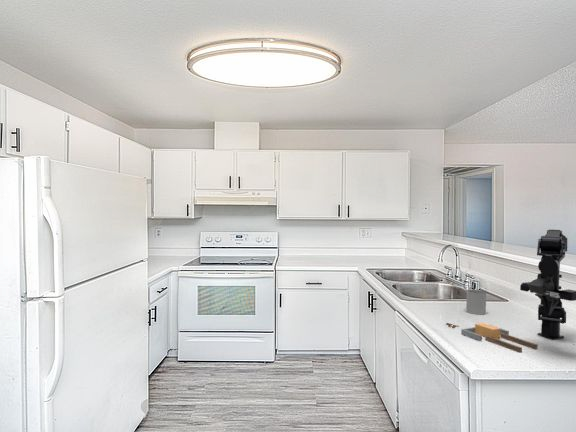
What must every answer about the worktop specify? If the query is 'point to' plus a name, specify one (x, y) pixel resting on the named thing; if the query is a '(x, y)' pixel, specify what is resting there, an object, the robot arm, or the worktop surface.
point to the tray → (471, 333)
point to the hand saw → (451, 326)
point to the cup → (476, 302)
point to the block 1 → (480, 328)
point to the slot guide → (511, 346)
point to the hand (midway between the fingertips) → (548, 314)
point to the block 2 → (492, 332)
